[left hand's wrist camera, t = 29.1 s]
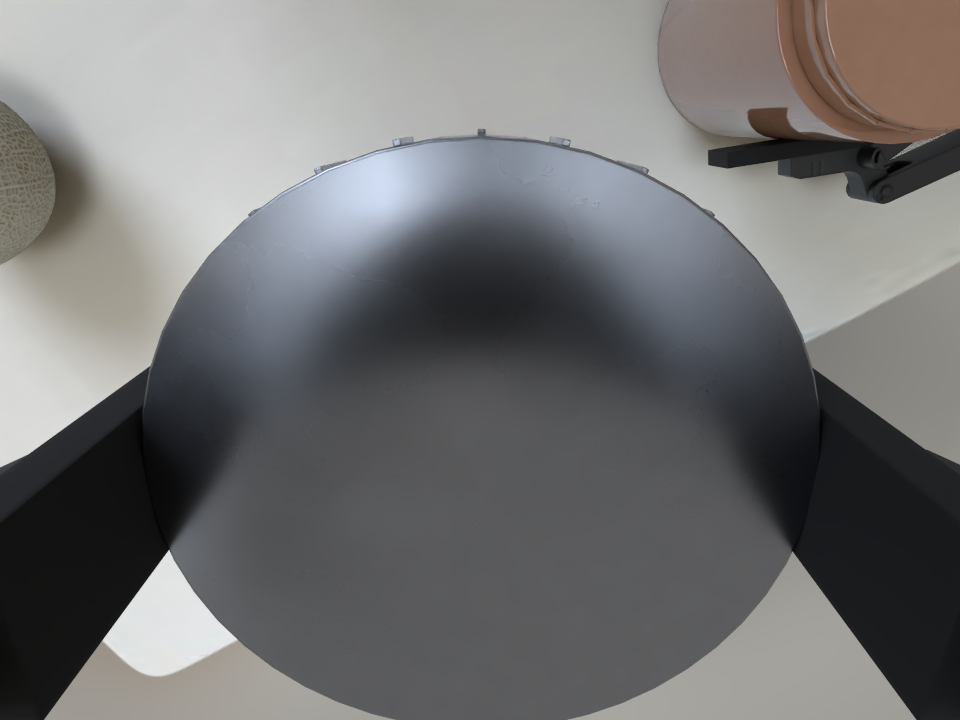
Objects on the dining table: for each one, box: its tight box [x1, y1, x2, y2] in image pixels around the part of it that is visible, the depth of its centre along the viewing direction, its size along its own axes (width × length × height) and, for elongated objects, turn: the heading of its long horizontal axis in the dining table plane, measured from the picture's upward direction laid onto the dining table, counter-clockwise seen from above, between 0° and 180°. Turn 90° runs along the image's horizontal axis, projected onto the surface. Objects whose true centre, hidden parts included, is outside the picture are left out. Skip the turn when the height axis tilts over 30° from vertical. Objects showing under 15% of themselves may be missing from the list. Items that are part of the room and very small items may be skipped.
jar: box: [658, 0, 960, 144], centre depth 27 cm, size 10×10×17 cm
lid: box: [142, 129, 820, 720], centre depth 11 cm, size 11×11×2 cm
